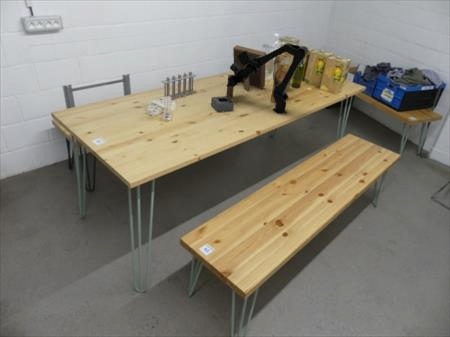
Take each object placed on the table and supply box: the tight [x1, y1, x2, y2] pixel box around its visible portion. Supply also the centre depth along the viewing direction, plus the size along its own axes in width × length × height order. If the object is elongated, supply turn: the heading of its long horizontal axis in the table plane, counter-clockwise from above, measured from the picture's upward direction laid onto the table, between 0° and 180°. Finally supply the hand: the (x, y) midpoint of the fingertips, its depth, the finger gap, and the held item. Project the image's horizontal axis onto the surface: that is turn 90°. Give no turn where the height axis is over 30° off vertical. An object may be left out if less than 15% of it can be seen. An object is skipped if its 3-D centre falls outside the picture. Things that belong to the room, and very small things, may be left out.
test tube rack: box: [160, 71, 197, 100], centre depth 218 cm, size 25×4×13 cm, turn 138°
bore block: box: [210, 95, 235, 113], centre depth 209 cm, size 10×10×5 cm
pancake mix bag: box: [270, 52, 291, 104], centre depth 222 cm, size 7×19×28 cm, turn 136°
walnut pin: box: [225, 74, 235, 98], centre depth 221 cm, size 4×4×13 cm
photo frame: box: [232, 45, 267, 92], centre depth 238 cm, size 15×22×25 cm
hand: (228, 85), depth 221 cm, fingers closed on walnut pin, 4 cm apart
